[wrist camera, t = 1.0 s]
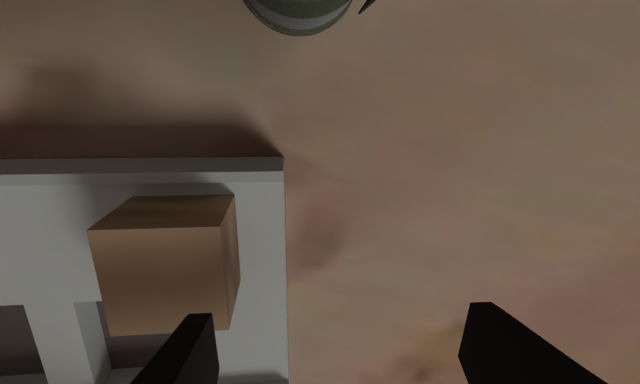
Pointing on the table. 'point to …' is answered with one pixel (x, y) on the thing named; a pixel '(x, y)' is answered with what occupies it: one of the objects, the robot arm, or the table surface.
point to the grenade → (300, 14)
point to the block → (167, 262)
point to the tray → (81, 281)
